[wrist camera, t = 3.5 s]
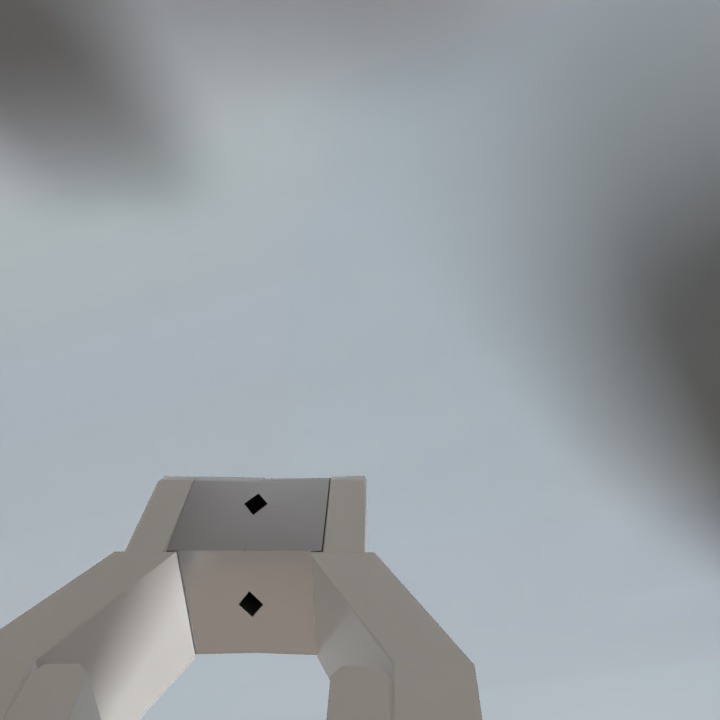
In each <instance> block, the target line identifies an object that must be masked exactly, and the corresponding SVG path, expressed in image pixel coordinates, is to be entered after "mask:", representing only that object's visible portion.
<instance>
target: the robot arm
mask: <svg viewBox="0 0 720 720" xmlns="http://www.w3.org/2000/svg"><path fill="white" fill-rule="evenodd" d="M222 653H277V654H305V655H318V659H319V661H320V663H321V664H322V666H323V668H324V670H325V672H326V674H327V675H328V677H329V679H330V688H329V699H328V710H327V720H482V714H481V707H480V700H479V693H478V686H477V679H476V673H475V666H474V664H473V663H472V662H471V661H470V659H469V658H468V657H467V656H466V655H465V654H464V653H463V652H462V650H461V649H460V648H459V647H458V646H457V645H456V644H455V643H454V641H453V640H452V639H451V638H450V637H449V636H448V635H447V634H446V632H445V631H444V630H443V629H442V628H441V627H440V626H439V624H438V623H437V622H436V621H435V620H434V619H433V618H432V617H431V615H430V614H429V613H428V612H427V611H426V610H425V609H424V608H423V606H422V605H421V604H420V603H419V602H418V601H417V600H416V599H415V597H414V596H413V595H412V594H411V593H410V592H409V591H408V590H407V588H406V587H405V586H404V585H403V584H402V583H401V582H400V581H399V579H398V578H397V577H396V576H395V575H394V574H393V573H392V572H391V570H390V569H389V568H388V567H387V566H386V565H385V564H384V562H383V561H382V560H381V559H380V558H379V557H378V556H377V555H376V553H373V552H368V533H367V480H366V478H365V476H346V477H332V478H270V479H265V478H245V477H198V478H197V477H170V476H165V477H163V478H162V479H161V480H159V482H158V483H157V485H156V487H155V489H154V491H153V493H152V496H151V498H150V500H149V502H148V504H147V506H146V508H145V510H144V512H143V515H142V517H141V519H140V521H139V523H138V525H137V527H136V529H135V531H134V533H133V536H132V538H131V540H130V542H129V544H128V546H127V548H126V550H125V552H114V553H112V554H111V555H109V556H108V557H106V558H105V559H103V560H102V561H100V562H99V563H97V564H96V565H94V566H93V567H91V568H90V569H89V570H87V571H86V572H84V573H83V574H81V575H80V576H78V577H77V578H75V579H74V580H72V581H71V582H69V583H68V584H66V585H65V586H64V587H62V588H61V589H59V590H58V591H56V592H55V593H53V594H52V595H50V596H49V597H47V598H46V599H44V600H43V601H41V602H40V603H38V604H37V605H36V606H34V607H33V608H31V609H30V610H28V611H27V612H25V613H24V614H22V615H21V616H19V617H18V618H16V619H15V620H13V621H12V622H10V623H9V624H8V625H6V626H5V627H3V628H2V629H0V720H140V719H141V718H142V717H143V716H144V714H145V713H146V712H147V711H148V710H149V709H150V708H151V707H152V706H153V704H154V703H155V702H156V701H157V700H158V699H159V698H160V697H161V696H162V694H163V693H164V692H165V691H166V690H167V689H168V688H169V687H170V686H171V684H172V683H173V682H174V681H175V680H176V679H177V678H178V677H179V676H180V674H181V673H182V672H183V671H184V670H185V669H186V668H187V667H188V666H189V664H190V663H191V662H192V661H193V660H194V659H195V654H222Z"/></svg>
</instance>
